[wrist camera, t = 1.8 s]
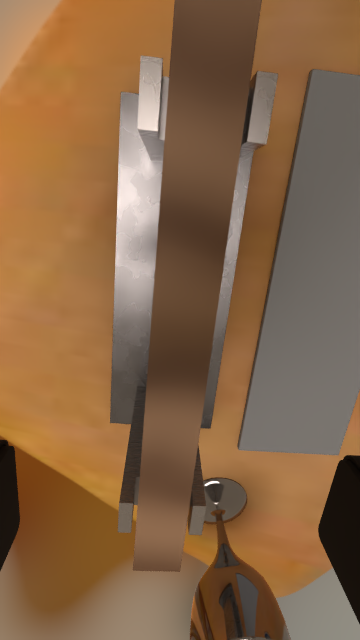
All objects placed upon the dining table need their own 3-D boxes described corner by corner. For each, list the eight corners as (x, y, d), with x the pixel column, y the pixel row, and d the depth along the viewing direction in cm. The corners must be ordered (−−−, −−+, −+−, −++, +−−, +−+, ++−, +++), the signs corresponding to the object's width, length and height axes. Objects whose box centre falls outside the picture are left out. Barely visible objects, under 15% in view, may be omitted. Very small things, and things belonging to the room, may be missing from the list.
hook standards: (122, 96, 25) (74, -17, 12) (255, 113, 25) (351, 23, 12) (112, 415, 34) (78, 551, 21) (208, 421, 35) (234, 556, 22)
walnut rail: (176, -6, 13) (178, -47, 11) (249, 5, 14) (266, -33, 11) (136, 534, 24) (133, 570, 21) (178, 536, 24) (180, 571, 22)
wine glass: (167, 501, 39) (168, 676, 25) (220, 463, 37) (253, 626, 23) (213, 536, 41) (237, 715, 27) (264, 501, 39) (319, 672, 25)
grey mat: (309, 71, 25) (313, 69, 24) (450, 90, 25) (456, 88, 25) (237, 446, 36) (238, 450, 36) (335, 451, 37) (338, 455, 36)
